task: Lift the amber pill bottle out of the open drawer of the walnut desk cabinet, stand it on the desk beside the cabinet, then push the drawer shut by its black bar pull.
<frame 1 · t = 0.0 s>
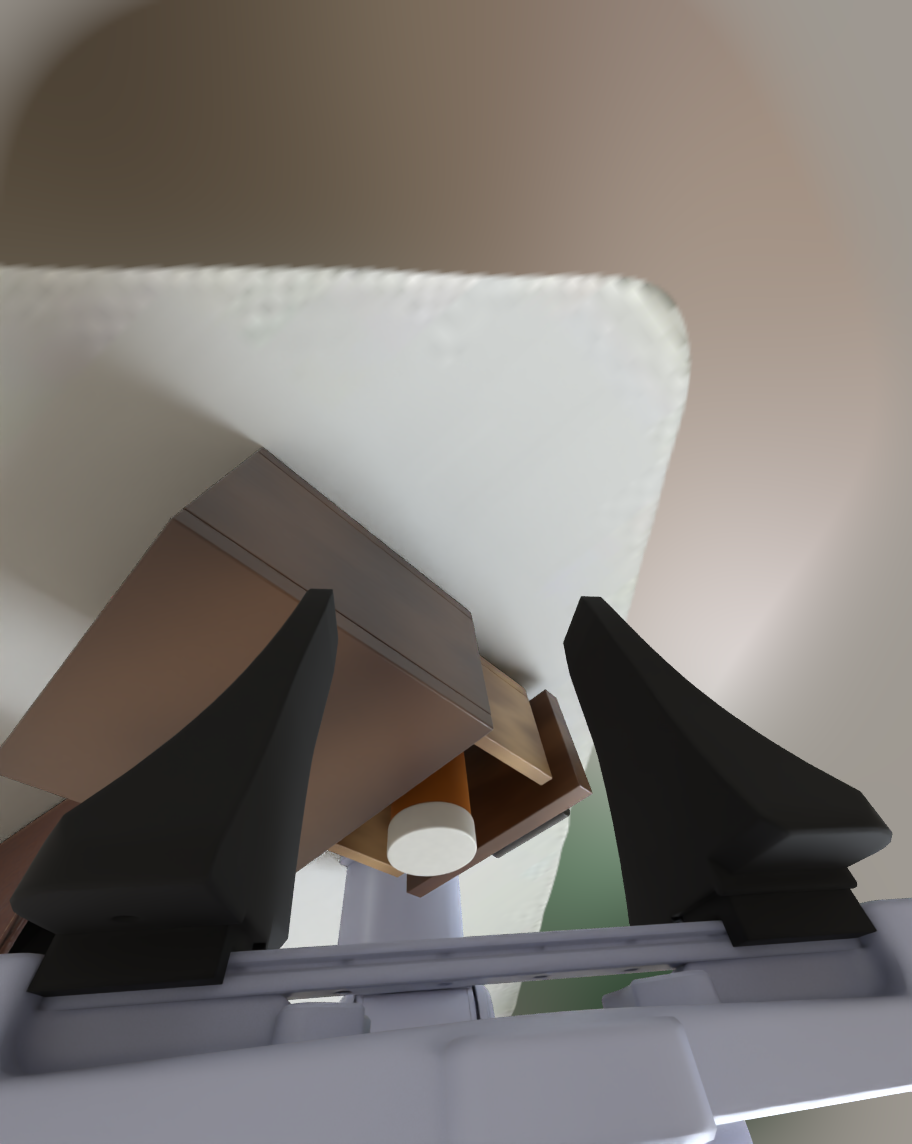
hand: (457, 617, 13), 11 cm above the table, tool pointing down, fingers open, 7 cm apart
pill bottle: (428, 728, 27), point 2 cm above the table, touching drawer
cabinet: (298, 623, 25), on the table
letter holder: (99, 842, 34), on the table
drawer: (441, 766, 26), point 4 cm above the table, slide at 7.5 cm, touching pill bottle
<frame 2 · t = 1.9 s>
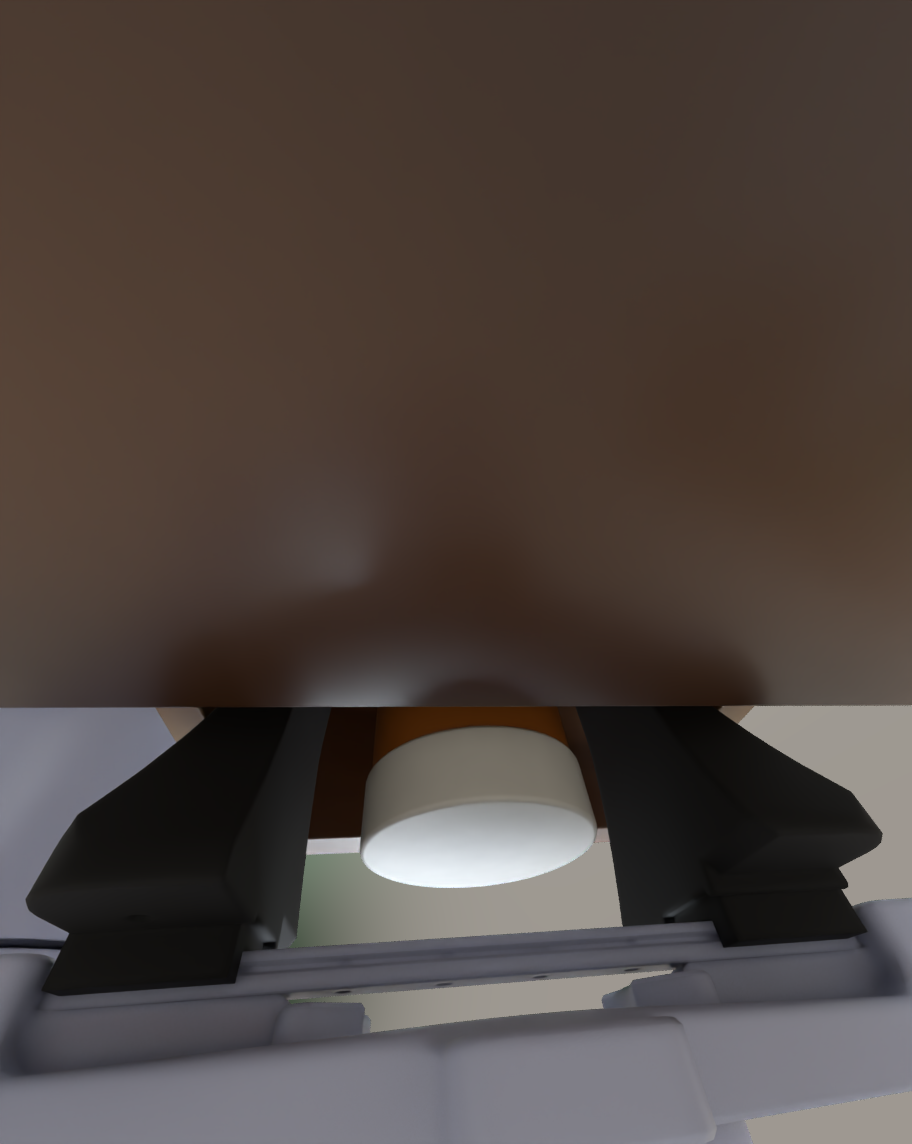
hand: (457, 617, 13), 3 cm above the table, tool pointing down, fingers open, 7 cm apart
pill bottle: (453, 586, 14), point 2 cm above the table, touching drawer
cabinet: (495, 145, 9), on the table
drawer: (455, 663, 13), point 4 cm above the table, slide at 7.5 cm, touching gripper, pill bottle
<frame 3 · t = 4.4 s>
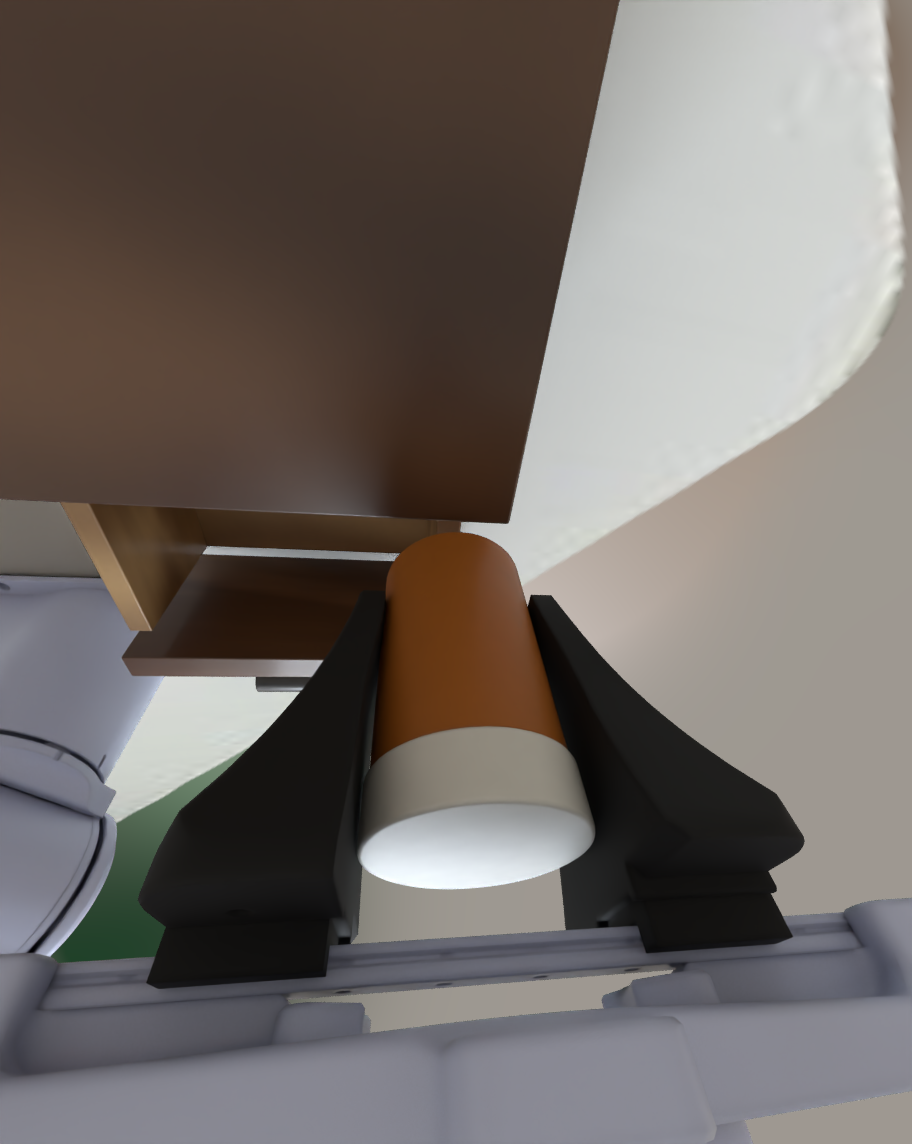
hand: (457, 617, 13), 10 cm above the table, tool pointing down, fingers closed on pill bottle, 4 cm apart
pill bottle: (452, 585, 14), point 9 cm above the table, touching gripper
cabinet: (291, 197, 14), on the table
drawer: (305, 546, 18), point 4 cm above the table, slide at 7.5 cm
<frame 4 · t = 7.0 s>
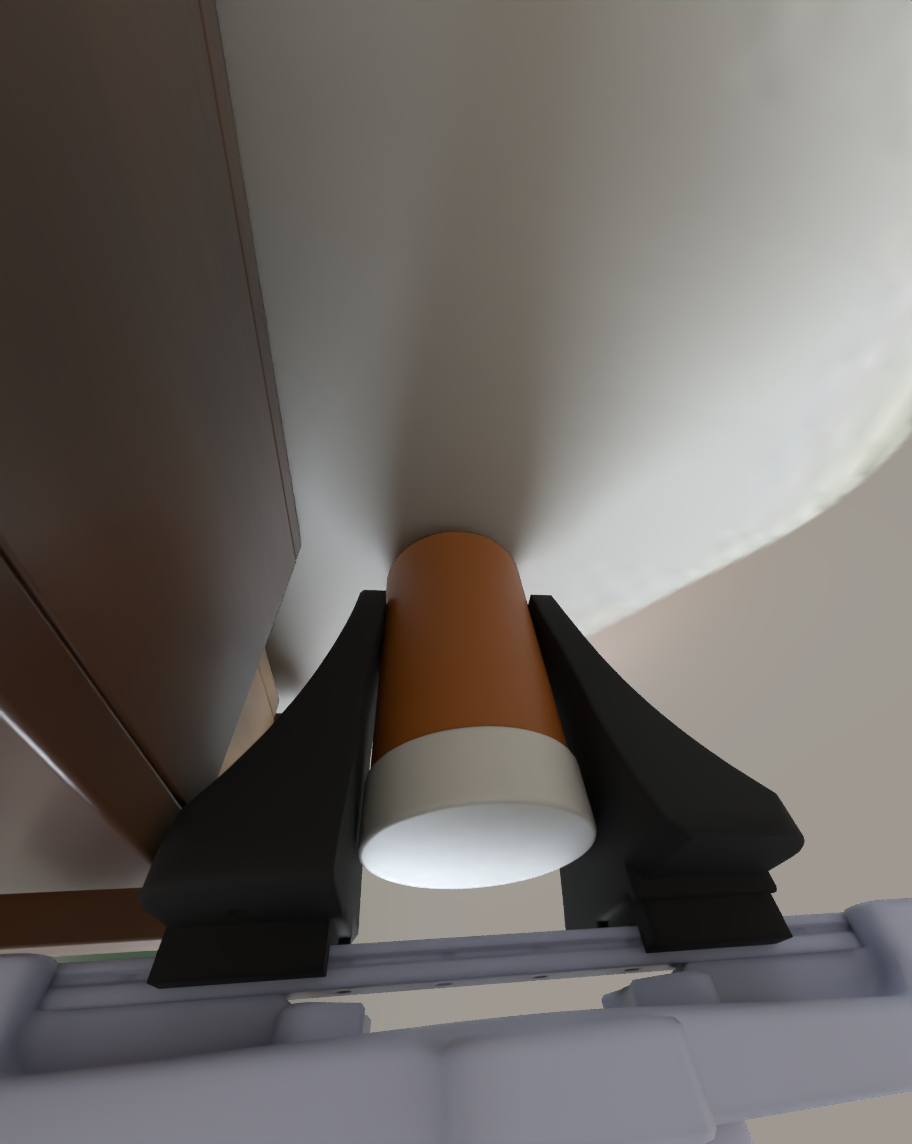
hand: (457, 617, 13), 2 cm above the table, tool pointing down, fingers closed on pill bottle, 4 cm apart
pill bottle: (453, 585, 14), point 1 cm above the table, touching gripper
drawer: (7, 757, 11), point 4 cm above the table, slide at 7.5 cm
when the fingers open (3 cm above the table, at t = 10.5 s): pill bottle drops 1 cm, on the table.
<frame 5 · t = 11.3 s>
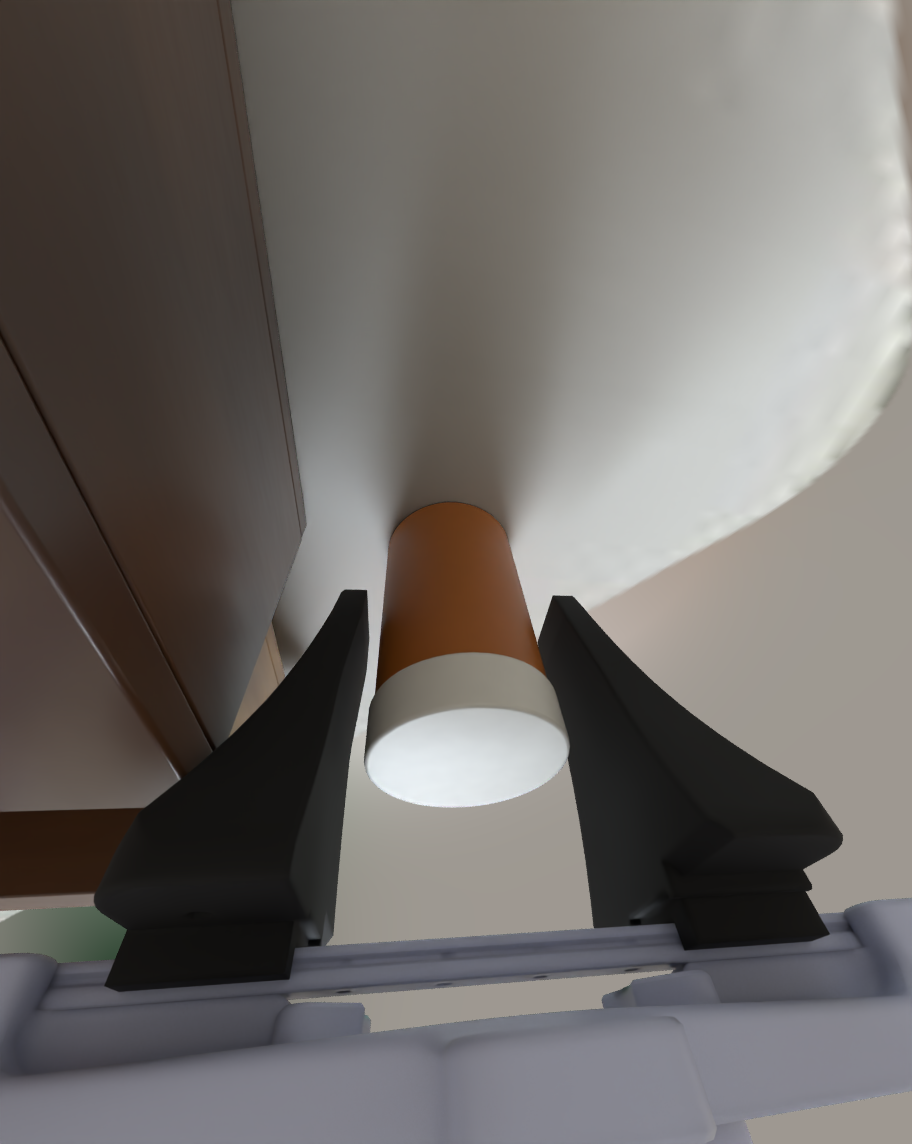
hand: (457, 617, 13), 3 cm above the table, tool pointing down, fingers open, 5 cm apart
pill bottle: (449, 554, 15), on the table
drawer: (33, 720, 12), point 4 cm above the table, slide at 7.5 cm
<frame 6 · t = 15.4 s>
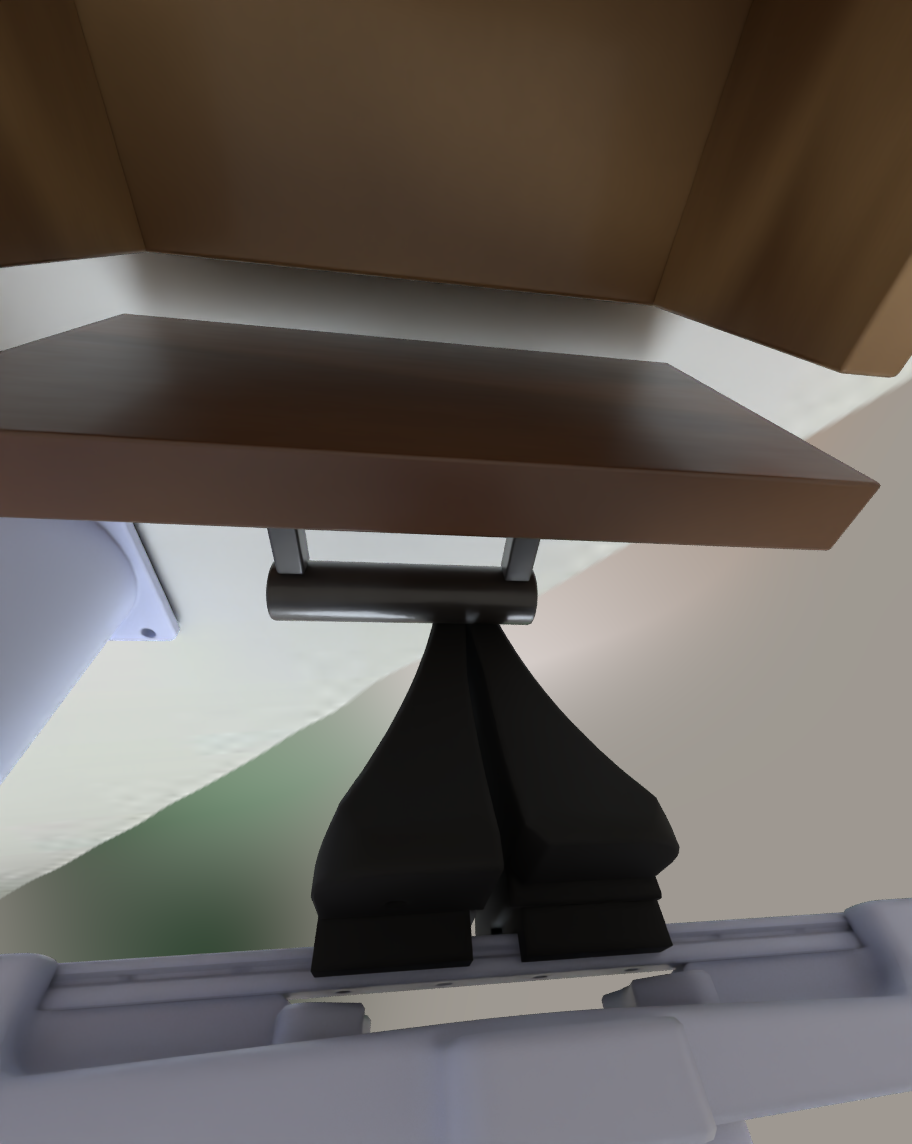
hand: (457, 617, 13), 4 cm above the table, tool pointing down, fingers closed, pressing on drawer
drawer: (420, 129, 6), point 4 cm above the table, slide at 6.3 cm, touching gripper
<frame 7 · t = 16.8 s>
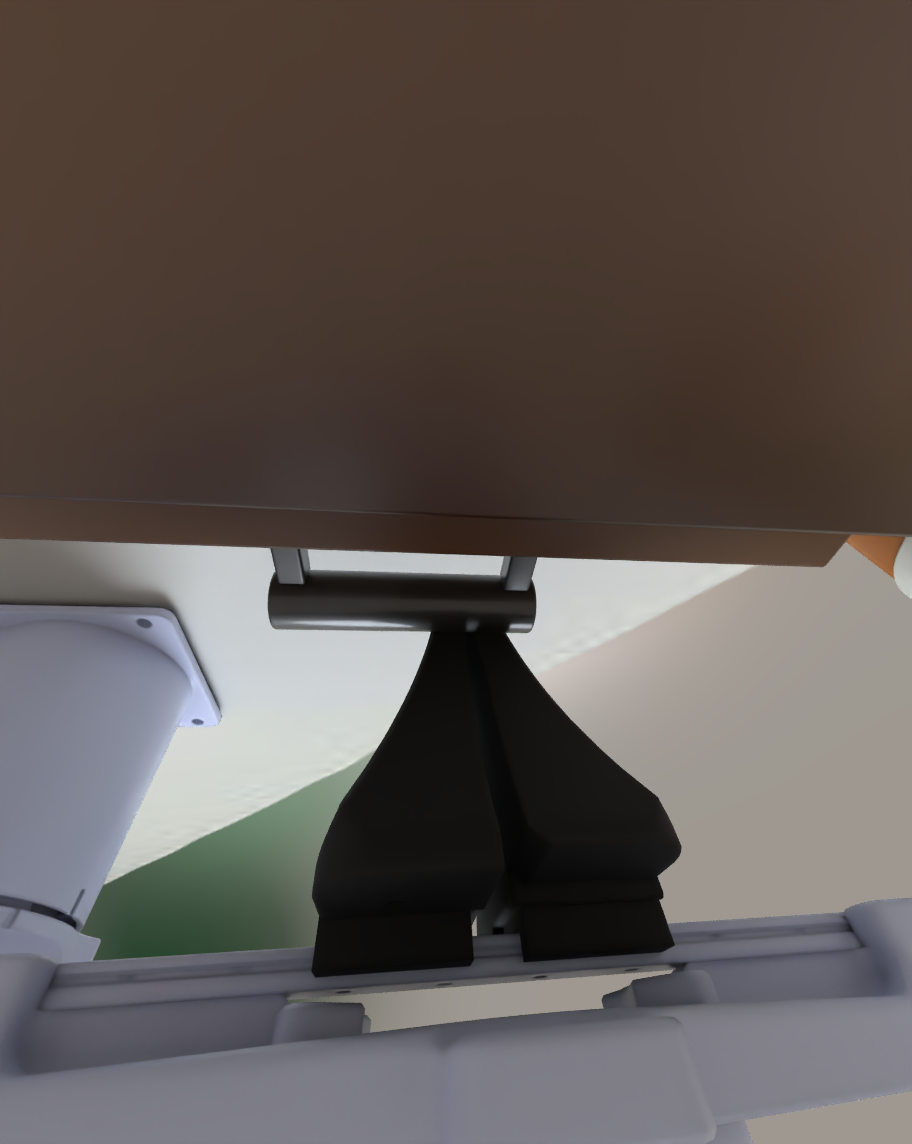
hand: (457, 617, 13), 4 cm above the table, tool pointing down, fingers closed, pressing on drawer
pill bottle: (803, 408, 13), on the table
drawer: (420, 149, 6), point 4 cm above the table, slide at 0.0 cm, touching cabinet, gripper
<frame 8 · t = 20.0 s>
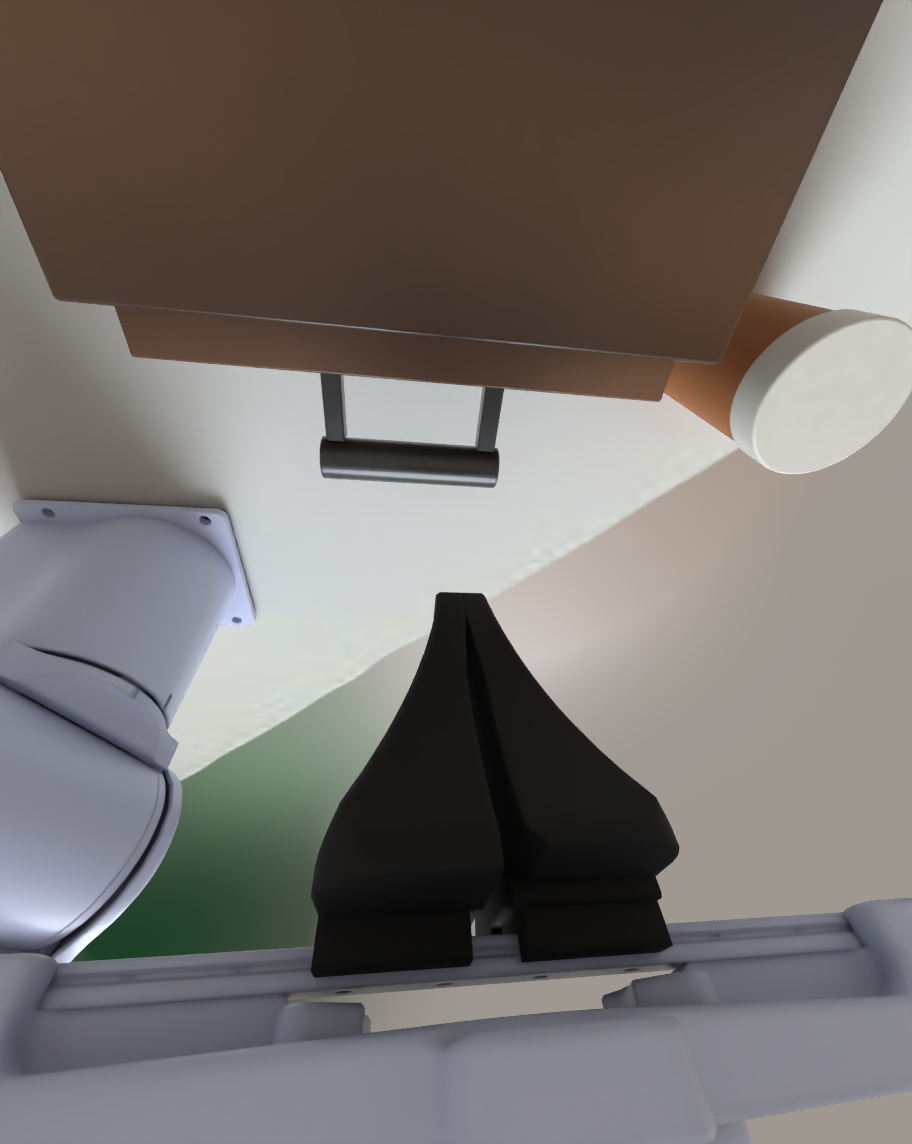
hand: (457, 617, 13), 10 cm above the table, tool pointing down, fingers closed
pill bottle: (700, 346, 18), on the table
drawer: (422, 156, 11), point 4 cm above the table, slide at 0.0 cm, touching cabinet
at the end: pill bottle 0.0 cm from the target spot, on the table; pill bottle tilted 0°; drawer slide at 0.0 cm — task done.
